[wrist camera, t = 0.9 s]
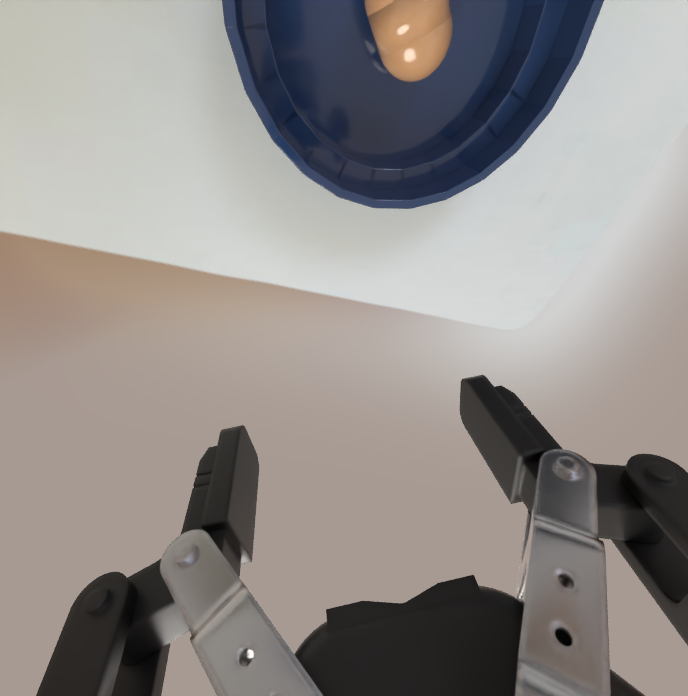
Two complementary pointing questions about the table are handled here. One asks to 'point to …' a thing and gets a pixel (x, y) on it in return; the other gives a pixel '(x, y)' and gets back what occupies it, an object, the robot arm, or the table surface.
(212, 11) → the table surface
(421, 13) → the bread roll
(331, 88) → the basin
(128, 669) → the robot arm
